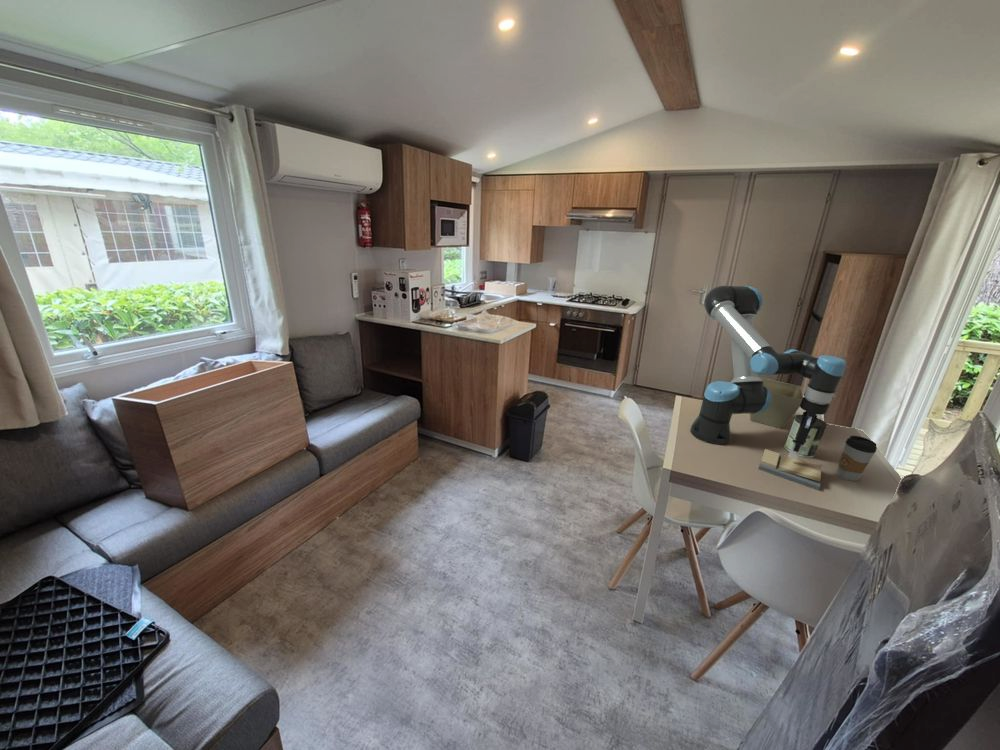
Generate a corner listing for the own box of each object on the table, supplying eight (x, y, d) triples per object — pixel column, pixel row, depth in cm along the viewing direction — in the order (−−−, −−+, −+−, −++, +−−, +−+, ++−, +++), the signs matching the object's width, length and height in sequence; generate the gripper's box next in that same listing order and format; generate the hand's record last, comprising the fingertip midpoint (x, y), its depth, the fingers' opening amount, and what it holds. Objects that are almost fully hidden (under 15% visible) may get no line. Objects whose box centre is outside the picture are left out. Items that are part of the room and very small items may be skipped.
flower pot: (791, 434, 171) (804, 399, 165) (741, 421, 180) (752, 388, 174) (789, 418, 186) (801, 386, 180) (743, 407, 195) (753, 376, 189)
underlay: (758, 469, 144) (760, 462, 143) (763, 452, 155) (765, 446, 154) (818, 490, 134) (821, 483, 133) (819, 471, 145) (822, 465, 144)
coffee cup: (826, 469, 147) (841, 434, 141) (846, 469, 147) (862, 434, 142) (846, 483, 139) (863, 447, 133) (867, 483, 140) (885, 447, 134)
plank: (778, 469, 142) (778, 466, 142) (781, 457, 150) (781, 454, 150) (819, 481, 135) (820, 478, 135) (820, 467, 143) (821, 465, 143)
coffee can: (806, 446, 162) (818, 416, 157) (819, 459, 153) (833, 428, 147) (779, 442, 164) (790, 412, 159) (791, 455, 154) (803, 424, 149)
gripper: (829, 410, 127) (803, 469, 136) (830, 397, 137) (805, 453, 146) (802, 402, 131) (778, 460, 141) (804, 391, 141) (782, 446, 150)
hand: (792, 457), depth 143 cm, fingers closed
